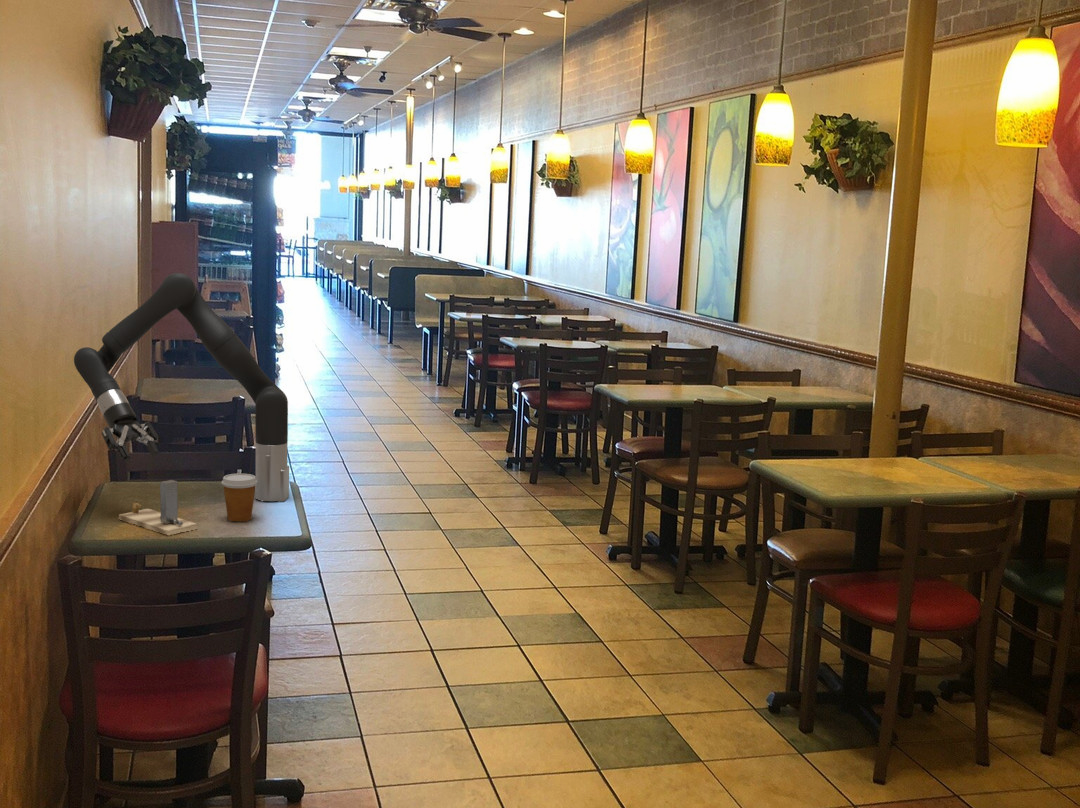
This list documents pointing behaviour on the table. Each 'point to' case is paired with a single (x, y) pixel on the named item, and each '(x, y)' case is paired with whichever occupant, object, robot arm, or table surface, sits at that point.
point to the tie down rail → (155, 521)
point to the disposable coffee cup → (239, 496)
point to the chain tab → (169, 502)
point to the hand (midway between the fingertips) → (141, 457)
